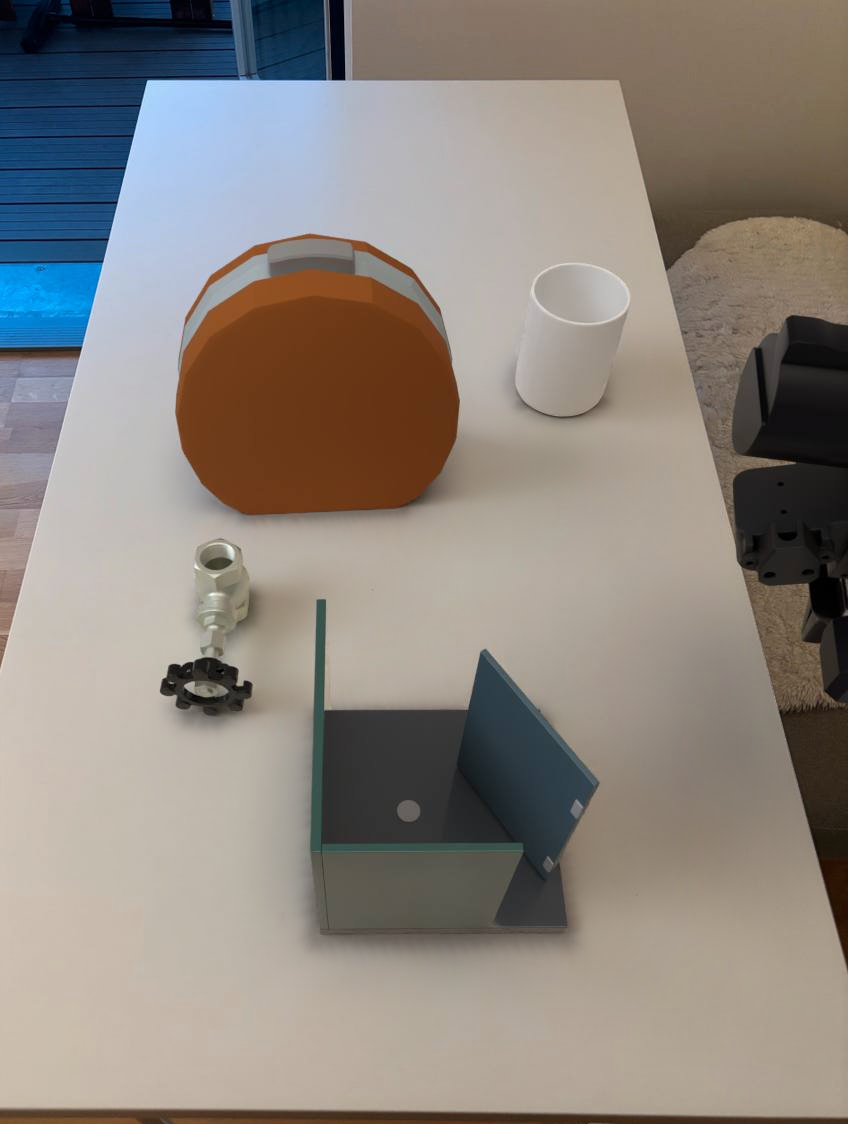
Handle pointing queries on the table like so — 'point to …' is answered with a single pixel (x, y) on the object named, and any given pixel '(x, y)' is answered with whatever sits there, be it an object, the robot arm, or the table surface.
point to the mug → (570, 337)
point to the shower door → (522, 767)
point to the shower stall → (411, 828)
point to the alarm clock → (315, 380)
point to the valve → (214, 631)
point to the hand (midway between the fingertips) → (809, 638)
